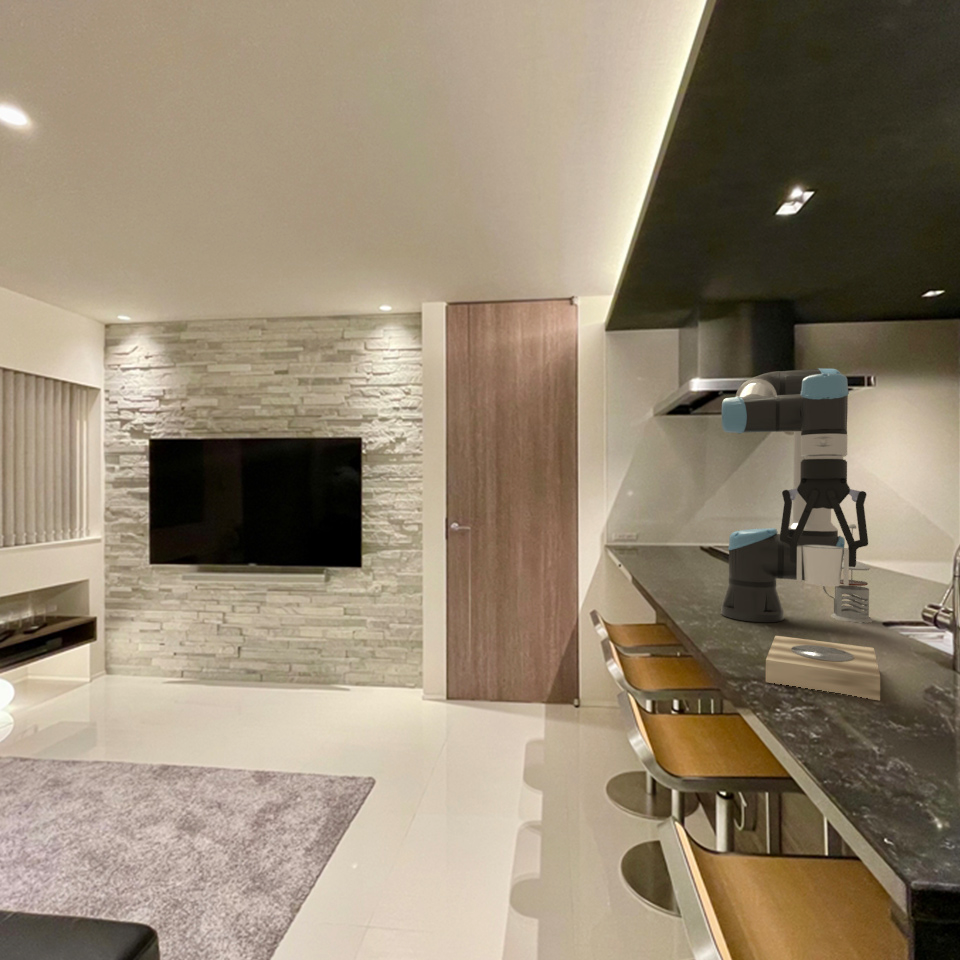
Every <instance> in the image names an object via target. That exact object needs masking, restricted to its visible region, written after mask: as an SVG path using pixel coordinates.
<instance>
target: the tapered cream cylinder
mask: <svg viewBox="0 0 960 960" xmlns="http://www.w3.org/2000/svg"><path fill="white" fill-rule="evenodd" d="M844 548H845V547H844ZM844 548H843V547H838V546H830V545H802V554H803V566H804V578H805V580H804V583H805V584H807V585H812V586H816V587H817V586H819V587H823V586H825V587H830V588H831V587H833V588H835V586H840V585H841V584H840V580H841V577H842V570H843V569H842V563H843V561H844V556H843V554H844Z"/></svg>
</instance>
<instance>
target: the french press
mask: <svg viewBox="0 0 960 960" xmlns="http://www.w3.org/2000/svg"><path fill="white" fill-rule="evenodd" d="M848 526H849V529H851V533H852V536H853V529H856V530H857V524H854V523H851V524H848ZM853 537H854V536H853ZM870 569H871V567H870V566H869V565H867V564H865V563H863V562H860V561H857V560H856V566H855V567H849V570H850V571H851V574H850V575H851V577H850V579H849V586H844V578H843V579H840V586H835V587H834V596H832V595H831V594H829V593H828V591H827V589H826V586H822V589H823V591H824V593H825V594H826V595H827V596H828V597H830V598H832V599H833V613H832V614H831V615H830V616H831V617H833V618H835V619H834V620H837V619H838V620H837V621H841V620H844V621H843V622H847V621H851V622H850V623H855V622H870V623H873V622H874V620H873V618H872V617H870V616H869V615H870V588H868V587H864V586H868V582H867V581H863V580H857V579H856V580H855V579H853V571H869V570H870ZM842 570H844V560H843V563H842ZM842 595H843V596H842ZM844 595H845V596H844ZM846 604H847V605H846ZM831 617H830V618H831ZM833 618H832V619H833ZM872 621H873V622H872Z"/></svg>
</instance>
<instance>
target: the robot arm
mask: <svg viewBox="0 0 960 960" xmlns="http://www.w3.org/2000/svg"><path fill="white" fill-rule="evenodd" d="M849 393H850V390H849V387H848V378H847V376H846V375H844V374H842V373H841V372H840V370H838V369H836V368H820V367H818V368H811V369H796V370H785V371H784V370H783V371H778V370H777V371H770V372H766V373H763V374H760V375H757V376H754V377H752V378H749V379H748V380H746V381H745V382H743V383H742V384H741V385H740V386H739V387H738V389H737V391H736V394H735V396H734V397H726V398H724V399H723V400H722V403H721V429H722V430H723V432H725V433H734V434H735V433H736V434H743V433H747V434H748V433H773V432H775V433H777V432H779V433H783V432H785V433H793V479H792V480H793V483H792V484H793V485H792V486H793V488H792V489H784V490H782V491H781V494H782V497H783V502H784V503H783V510H782V519H781V526H780V533H779V532H778V530H777V529H776V528H775V527H769V528H765V527H764V528H761V527H760V528H752V529H741V530H736V531H733V532H732V533H730V536H729V541H728V547H727V551H728V585H727V589H726V591H725V594H724V597H723V600H722V603H721V605H720V606H721V607H720V609H721V610H720V614H721V615H722V616H724V617H726V618H730V619H733V620H738V621H739V620H740V621H745V622H753V623H776V622H782V621H783V620H784V608H783V605H782V602H781V599H780V596H779V593H778V590H777V579H778V580H793V581H796V582H798V583H799V582H800V583H801V582H802V581H805V578H804V566H803V554H802V545H830V546H838V547H843V548H844V554H843V561H844V569H843V579H844V584H843V585H844V586H849V580H850V579H849V577H850V576H849V575H850V574H849V573H850V571H849V567H855V566H856V561H857V551H858V549H860V548H863V547H867V546H868V545H869V539H868V538H869V537H868V529H867V528H868V527H867V521H866V511H865V505H864V504H865V501H866V498H867V492H866V491H865V490H857V489H851V487H850V486H849V484H848V461H847V459H844V457H847V455H848V409H849V408H848V405H849V404H848V399H849ZM848 495H850V496H851V501H852V502H855V511H856V521H857V528H858V529H857V530H858V537H859V539H858V540H855V539H854V536H852V530H851V528H849V523H848V522H847V519H846V517H845V515H844V512H843V509H842V507H841V503H842V502H843V501H844V500H845V499H846V498H847V497H848ZM832 510H833V512H834V514H835V516H836V519H837V522H838V523H839V527H840V529H841V531H842V533H843V536H841V535H839V534H838V533H839V529H838V528H837V527H836V526H835V525H834V524H833V523H832ZM791 515H792V521H790V520H791ZM845 544H847V545H848V547H847V548H846V547H845Z"/></svg>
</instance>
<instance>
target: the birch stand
mask: <svg viewBox="0 0 960 960" xmlns="http://www.w3.org/2000/svg"><path fill="white" fill-rule="evenodd" d="M765 683H768V684H769V683H770V684H774V683H775V685H780V684H782V686H786V685H789V686H788V687H792V686H796V687H795V688H798V687H801V688H800V689H805V688H808V689H807V690H811V689H815V690H814V691H817V690H822V691H821V692H823V691H827V692H826V693H829V692H835V693H841V694H840V695H842V694H847V695H846V696H848V695H852V696H851V697H854V696H857V697H856V698H860V697H862V698H861V699H866V698H868V700H872V701H873V700H874V701H881V673H880V669H879V666H878V661H877V656H876V652H875V649H874V647H869V646H862V645H854V644H853V645H852V644H845V643H838V642H830V641H822V640H821V641H820V640H815V639H814V640H813V639H807V638H804V639H803V638H798V637H789V636H781V635H775V636H774V639H773V641H772V644H771V646H770V648H769V651H768V653H767V656H766V659H765ZM828 691H829V692H828ZM835 693H834V694H835Z"/></svg>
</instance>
